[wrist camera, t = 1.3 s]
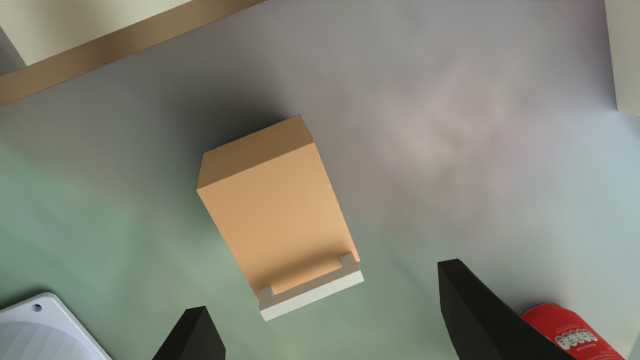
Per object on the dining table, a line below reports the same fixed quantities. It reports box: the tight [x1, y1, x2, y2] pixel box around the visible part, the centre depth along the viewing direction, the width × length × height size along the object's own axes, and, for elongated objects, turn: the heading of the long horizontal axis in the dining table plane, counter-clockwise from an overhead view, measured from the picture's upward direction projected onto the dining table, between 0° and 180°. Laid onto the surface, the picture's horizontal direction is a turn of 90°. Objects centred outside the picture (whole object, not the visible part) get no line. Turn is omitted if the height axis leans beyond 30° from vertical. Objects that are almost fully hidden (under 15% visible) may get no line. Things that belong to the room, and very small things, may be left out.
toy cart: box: [196, 114, 364, 321], centre depth 19 cm, size 6×5×6 cm
